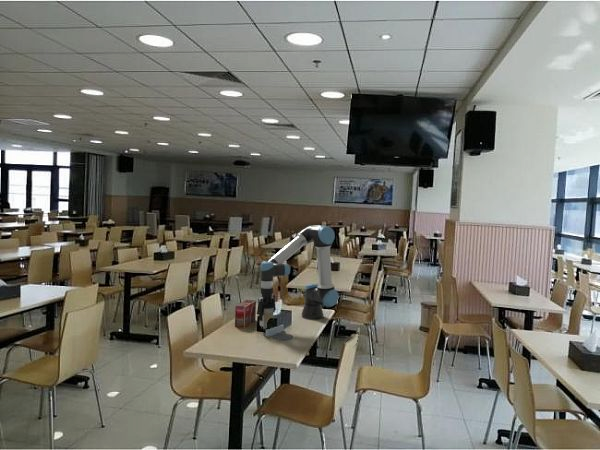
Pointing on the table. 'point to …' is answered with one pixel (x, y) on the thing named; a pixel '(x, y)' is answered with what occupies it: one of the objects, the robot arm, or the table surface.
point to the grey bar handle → (274, 330)
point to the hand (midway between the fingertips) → (266, 324)
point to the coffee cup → (267, 313)
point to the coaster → (283, 336)
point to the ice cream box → (245, 313)
